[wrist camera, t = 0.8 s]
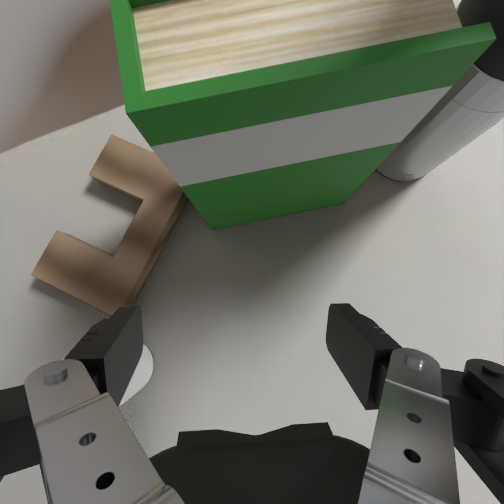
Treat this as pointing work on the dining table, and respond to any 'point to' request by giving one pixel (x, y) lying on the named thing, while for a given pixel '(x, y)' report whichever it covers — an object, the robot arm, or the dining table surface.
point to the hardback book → (284, 92)
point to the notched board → (134, 241)
